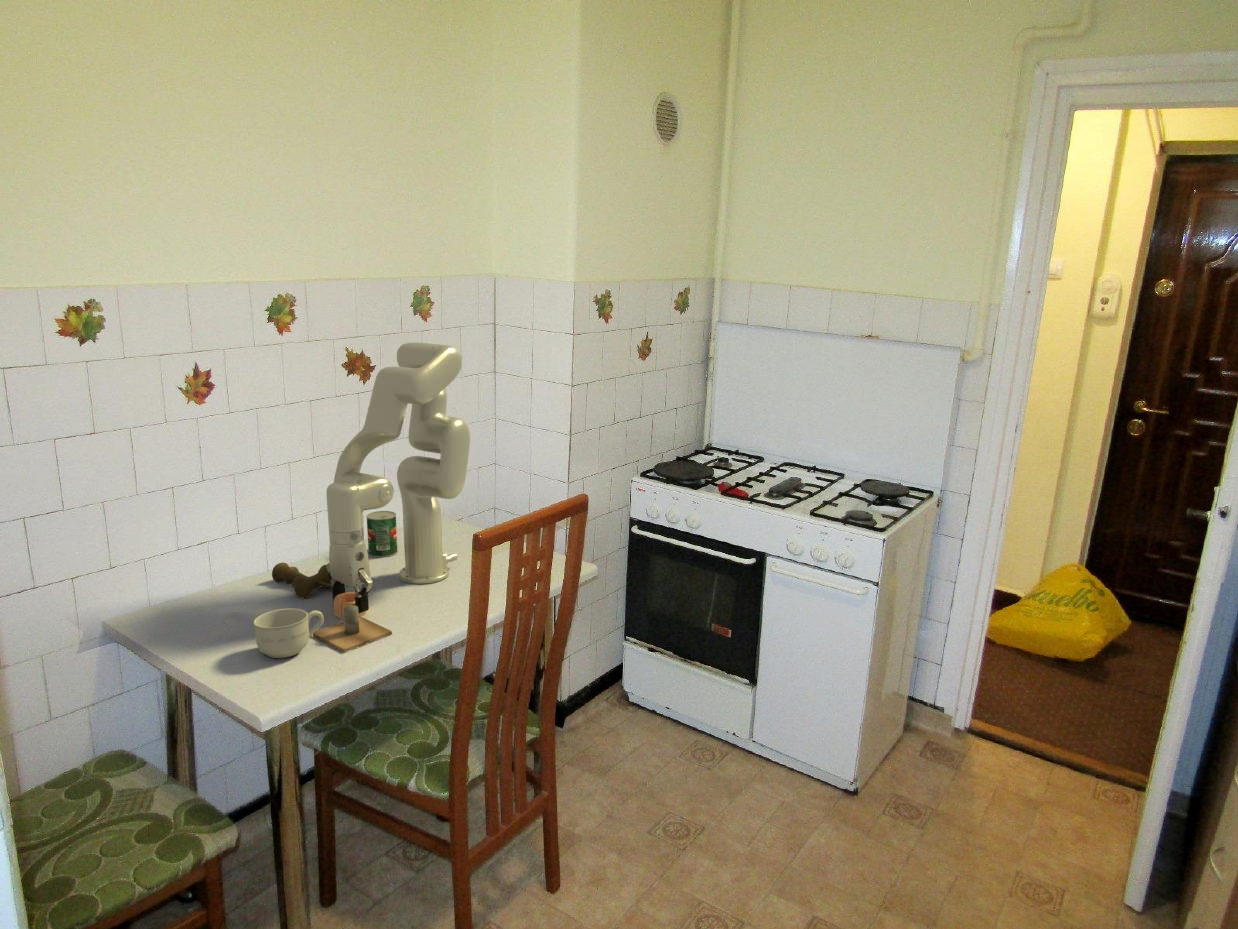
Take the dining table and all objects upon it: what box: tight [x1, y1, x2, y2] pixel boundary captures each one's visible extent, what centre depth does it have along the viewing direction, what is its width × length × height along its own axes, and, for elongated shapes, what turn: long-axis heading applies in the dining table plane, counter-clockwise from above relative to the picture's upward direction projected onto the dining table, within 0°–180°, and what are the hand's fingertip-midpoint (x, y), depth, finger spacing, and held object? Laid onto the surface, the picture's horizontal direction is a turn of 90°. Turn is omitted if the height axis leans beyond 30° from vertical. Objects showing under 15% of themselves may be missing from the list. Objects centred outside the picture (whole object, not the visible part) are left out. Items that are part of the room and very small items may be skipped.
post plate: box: [312, 606, 393, 654], centre depth 194 cm, size 12×12×6 cm
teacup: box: [252, 608, 325, 659], centre depth 186 cm, size 14×11×8 cm
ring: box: [333, 591, 368, 619], centre depth 206 cm, size 7×7×4 cm
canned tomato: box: [365, 510, 399, 558], centre depth 244 cm, size 8×8×11 cm
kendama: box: [271, 562, 333, 599], centre depth 219 cm, size 6×10×20 cm
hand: (350, 606), depth 206 cm, fingers open, 8 cm apart
